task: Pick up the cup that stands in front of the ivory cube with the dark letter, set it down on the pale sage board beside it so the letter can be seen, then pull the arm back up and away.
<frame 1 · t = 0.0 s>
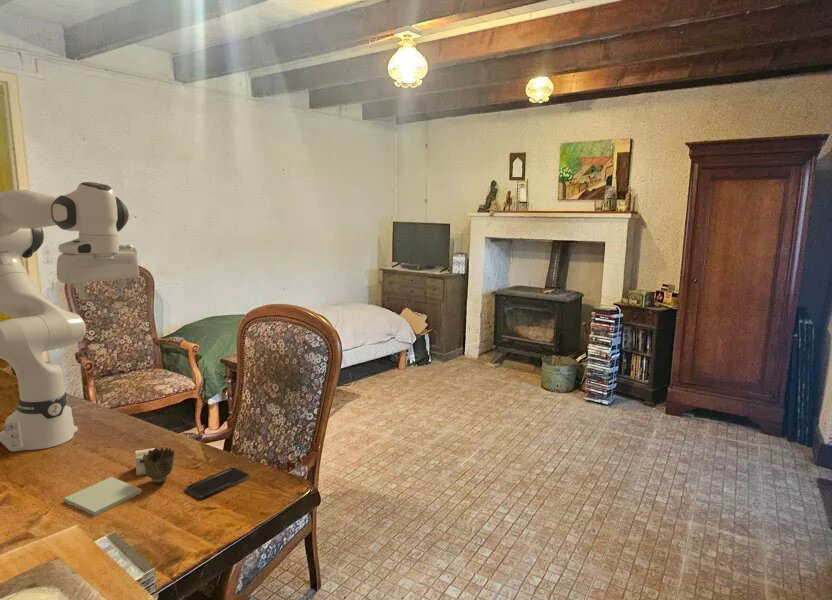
hand: (101, 297, 137), 48 cm above the table, tool pointing down, fingers open, 8 cm apart
phone: (218, 485, 137), on the table
sage board: (103, 497, 128), on the table
cup: (159, 482, 137), on the table
letter cube: (146, 469, 143), on the table
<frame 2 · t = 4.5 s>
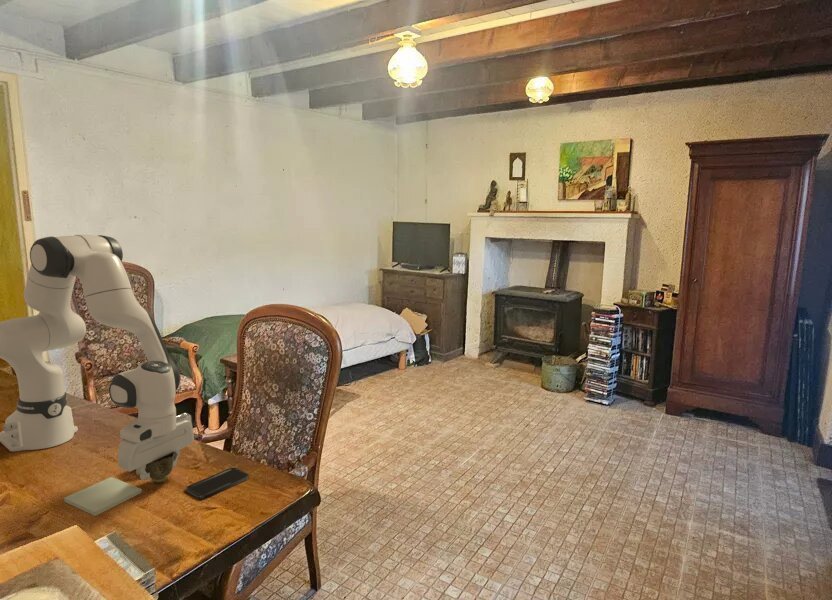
hand: (159, 472, 136), 3 cm above the table, tool pointing down, fingers closed on cup, 7 cm apart
cup: (159, 482, 137), on the table, touching gripper
everything else where it was.
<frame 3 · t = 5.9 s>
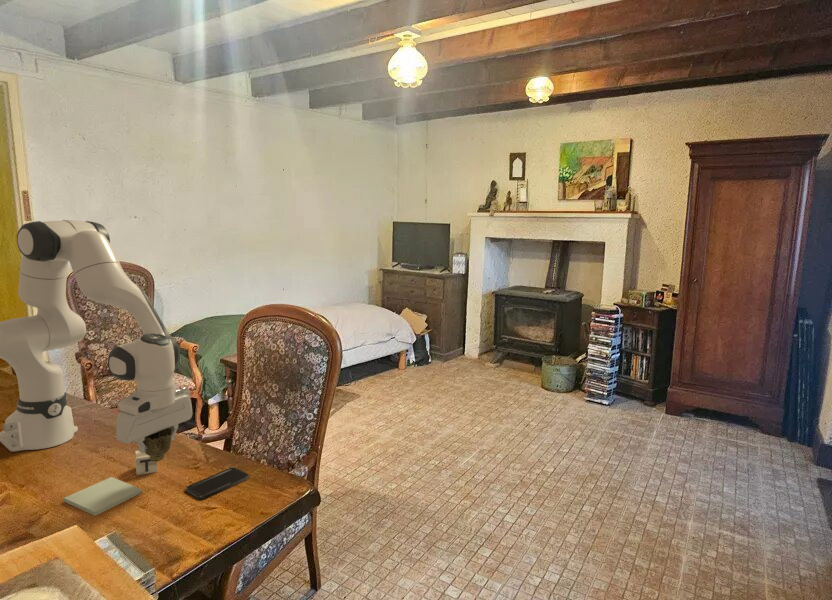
hand: (157, 445, 136), 10 cm above the table, tool pointing down, fingers closed on cup, 6 cm apart
cup: (157, 460, 136), point 6 cm above the table, touching gripper
everything else where it was.
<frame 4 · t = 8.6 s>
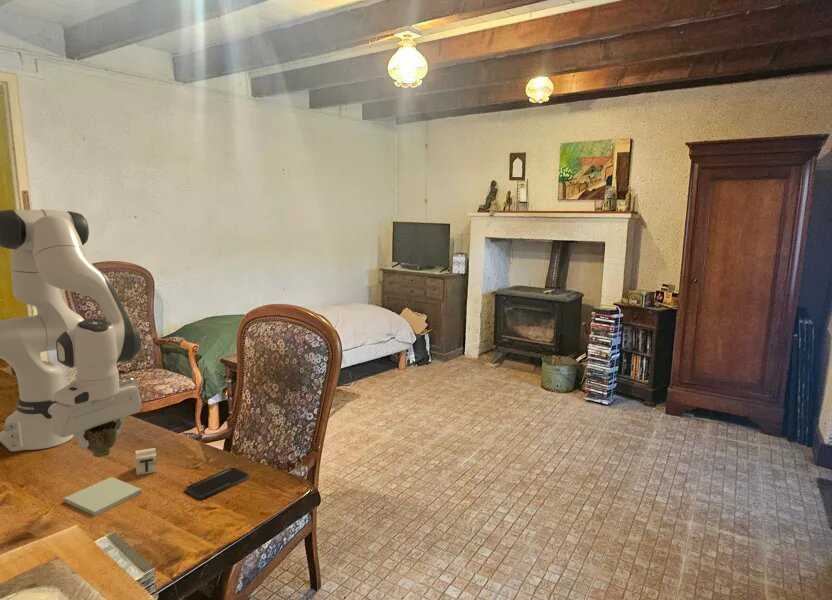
hand: (100, 440, 126), 15 cm above the table, tool pointing down, fingers closed on cup, 6 cm apart
cup: (101, 455, 126), point 11 cm above the table, touching gripper
everything else where it was.
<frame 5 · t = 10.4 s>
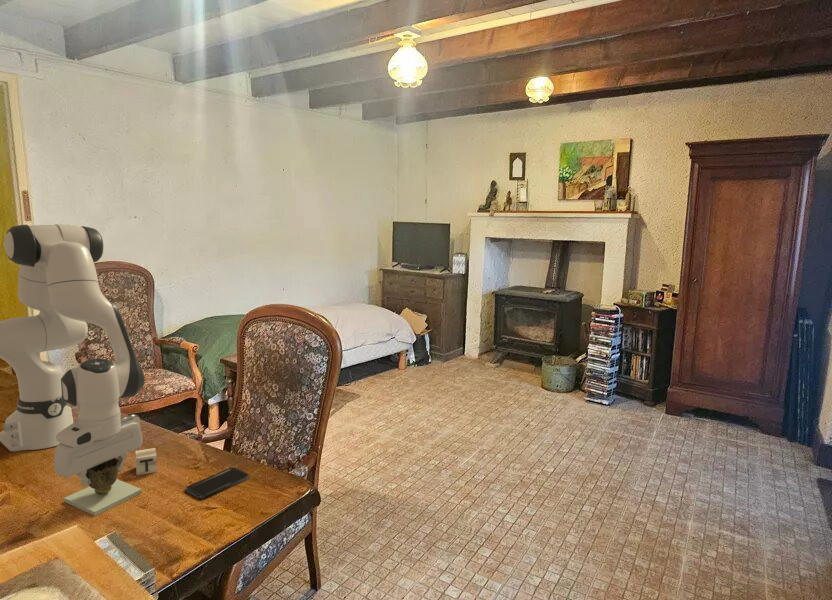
hand: (102, 477, 128), 5 cm above the table, tool pointing down, fingers closed on cup, 6 cm apart
cup: (103, 492, 128), point 1 cm above the table, touching gripper
everything else where it was.
when the fingers open (5 cm above the table, at t = 11.3 s): cup moves 1 cm, resting on sage board.
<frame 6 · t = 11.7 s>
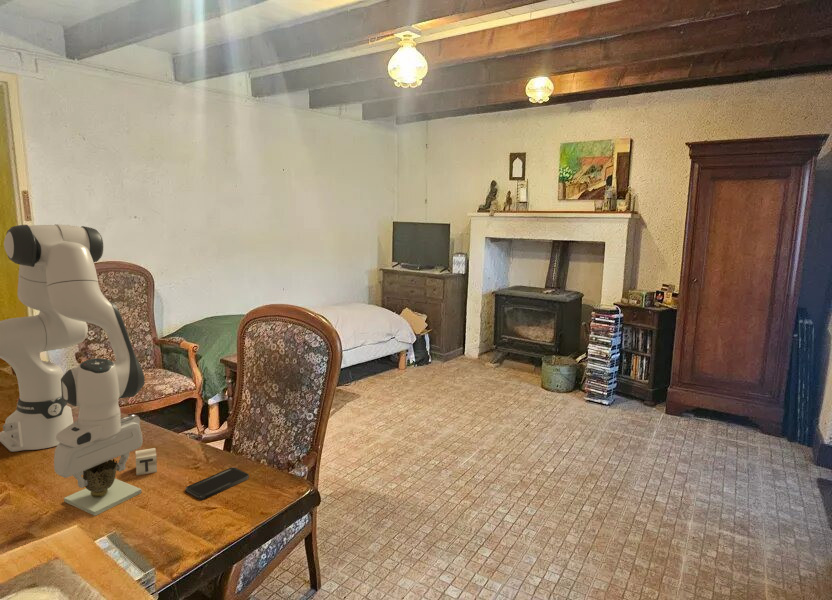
hand: (102, 477, 128), 5 cm above the table, tool pointing down, fingers open, 8 cm apart
cup: (99, 495, 127), point 1 cm above the table, touching gripper, sage board
everything else where it was.
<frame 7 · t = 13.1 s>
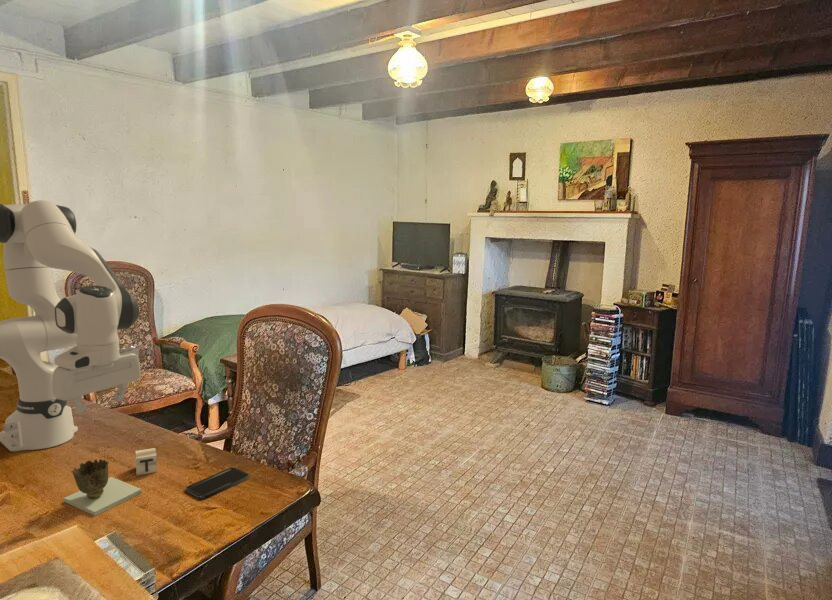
hand: (100, 406, 128), 23 cm above the table, tool pointing down, fingers open, 8 cm apart
cup: (95, 496, 127), point 1 cm above the table, touching sage board
everything else where it was.
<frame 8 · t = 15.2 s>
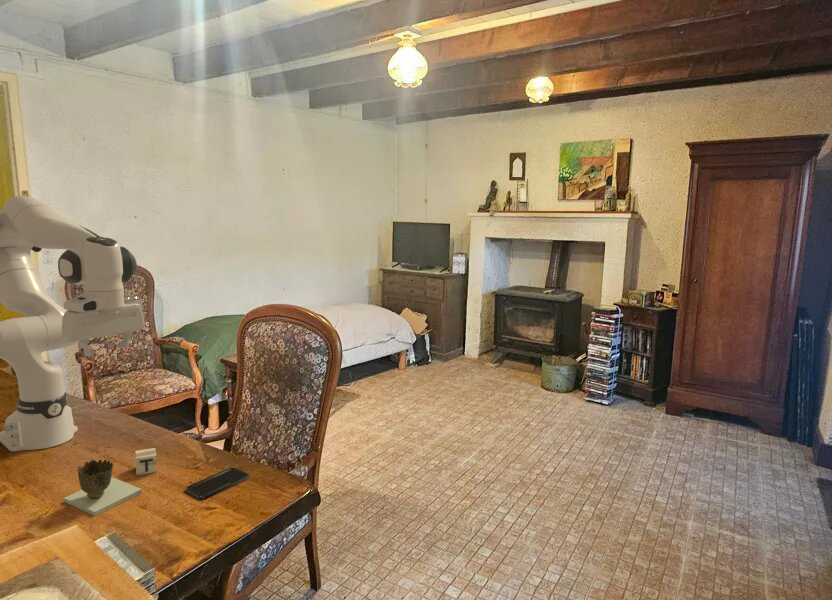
hand: (107, 351, 135), 34 cm above the table, tool pointing down, fingers open, 8 cm apart
at the end: cup inside the target area on the sage board (1.8 cm from its centre), point 0.9 cm above the sage board's base; cup tilted 2°; letter cube moved 0.1 cm from its start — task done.
